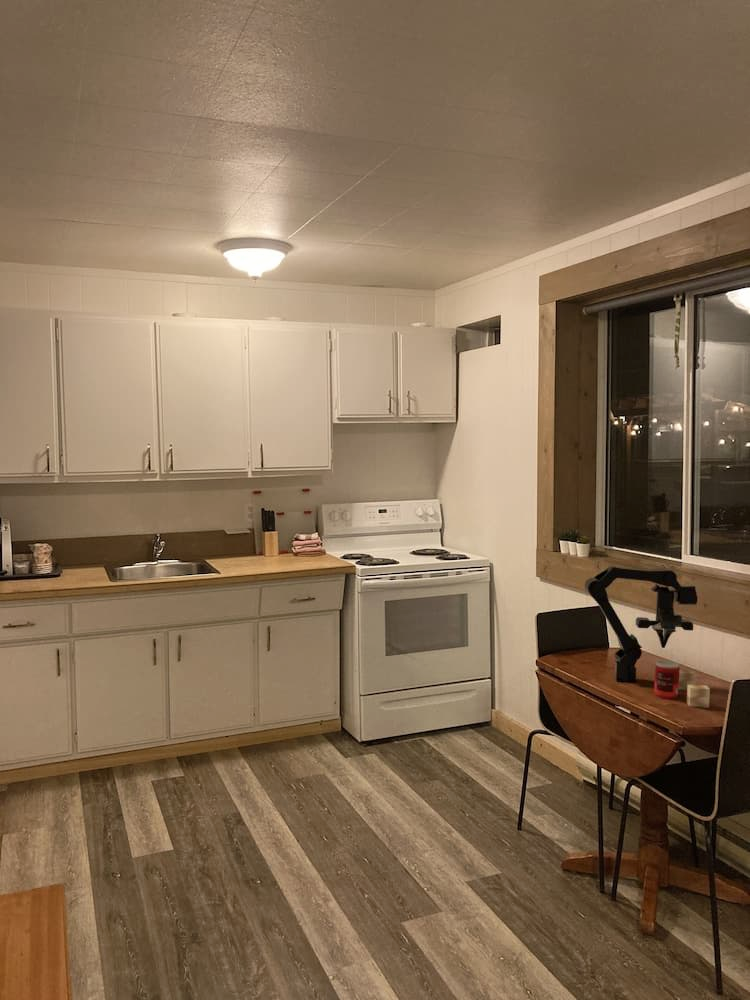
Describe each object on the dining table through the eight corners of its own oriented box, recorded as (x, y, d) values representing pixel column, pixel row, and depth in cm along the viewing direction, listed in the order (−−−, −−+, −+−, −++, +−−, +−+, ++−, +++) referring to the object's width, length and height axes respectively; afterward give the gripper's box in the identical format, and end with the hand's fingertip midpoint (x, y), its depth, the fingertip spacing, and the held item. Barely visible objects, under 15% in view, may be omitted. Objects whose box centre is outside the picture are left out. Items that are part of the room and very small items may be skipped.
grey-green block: (676, 689, 288) (677, 672, 288) (674, 686, 292) (674, 669, 292) (694, 690, 287) (695, 673, 287) (692, 687, 291) (692, 670, 291)
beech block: (689, 706, 270) (690, 688, 270) (686, 702, 274) (687, 684, 274) (708, 707, 269) (709, 689, 269) (705, 703, 273) (706, 685, 273)
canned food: (671, 691, 286) (673, 660, 285) (682, 699, 278) (684, 666, 277) (650, 692, 285) (651, 660, 284) (660, 699, 277) (661, 666, 276)
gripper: (642, 607, 289) (640, 652, 291) (698, 610, 287) (696, 655, 288) (636, 601, 300) (634, 644, 302) (690, 603, 298) (688, 647, 299)
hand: (663, 647), depth 297 cm, fingers closed
